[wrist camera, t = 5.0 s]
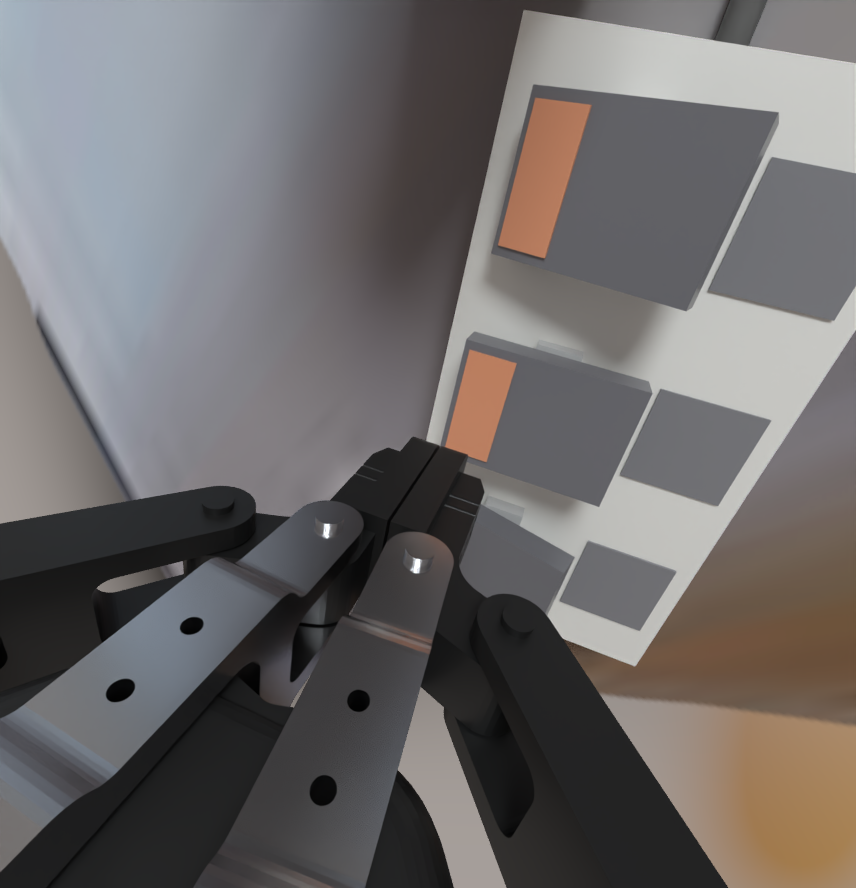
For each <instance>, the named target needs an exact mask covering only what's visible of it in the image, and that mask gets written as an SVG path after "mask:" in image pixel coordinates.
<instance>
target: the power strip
mask: <svg viewBox="0 0 856 888" xmlns="http://www.w3.org/2000/svg"><path fill="white" fill-rule="evenodd" d="M766 2H767V0H730V2H729V5H728V8H727V10H726V13H725V15H724V18H723V20H722V23H721V26H720V28H719V31H718V33H717V36H716V39H715V41H714V40H708V39H702V38H696V37H689V36H683V35H677V34H671V33H665V32H658V31H652V30H646V29H640V28H634V27H628V26H621V25H615V24H609V23H603V22H597V21H590V20H584V19H578V18H572V17H566V16H560V15H553V14H547V13H541V12H535V11H529V10H524V11H523V15H522V20H521V24H520V29H519V33H518V37H517V42H516V46H515V51H514V55H513V60H512V64H511V68H510V73H509V77H508V82H507V86H506V90H505V95H504V99H503V104H502V108H501V112H500V117H499V121H498V126H497V130H496V135H495V139H494V143H493V148H492V152H491V157H490V161H489V165H488V170H487V174H486V179H485V183H484V188H483V192H482V196H481V201H480V205H479V210H478V214H477V218H476V223H475V227H474V232H473V236H472V240H471V245H470V249H469V254H468V258H467V263H466V267H465V271H464V276H463V280H462V285H461V289H460V293H459V298H458V302H457V307H456V311H455V315H454V320H453V324H452V329H451V333H450V338H449V342H448V346H447V351H446V355H445V360H444V364H443V368H442V373H441V377H440V382H439V386H438V390H437V395H436V399H435V404H434V408H433V413H432V417H431V421H430V426H429V430H428V435H427V439H426V441H428V442H431V443H434V444H437V445H441V441H442V437H443V432H444V428H445V424H446V420H447V416H448V412H449V408H450V404H451V400H452V396H453V392H454V388H455V383H456V379H457V375H458V371H459V367H460V363H461V359H462V355H463V351H464V347H465V343H466V339H467V338H468V337H469V336H470V335H471V334H472V333H473V332H474V331H475V332H478V333H482V334H485V335H489V336H492V337H496V338H499V339H503V340H506V341H510V342H513V343H517V344H520V345H524V346H527V347H531V348H534V349H538V350H541V351H545V352H548V353H552V354H555V355H559V356H562V357H565V358H569V359H572V360H576V361H579V362H583V363H586V364H590V365H593V366H597V367H600V368H604V369H607V370H611V371H614V372H618V373H621V374H625V375H628V376H632V377H635V378H639V379H642V380H646V381H649V383H650V387H651V390H652V393H653V394H652V396H651V398H650V400H649V402H648V404H647V407H646V409H645V411H644V413H643V415H642V417H641V419H640V421H639V423H638V426H637V428H636V430H635V432H634V434H633V436H632V438H631V440H630V443H629V445H628V447H627V449H626V451H625V453H624V455H623V457H622V460H621V462H620V464H619V466H618V468H617V470H616V472H615V474H614V476H613V479H612V481H611V483H610V485H609V487H608V489H607V491H606V493H605V496H604V498H603V500H602V502H601V504H600V506H599V507H597V506H594V505H592V504H589V503H586V502H583V501H580V500H577V499H574V498H571V497H568V496H565V495H562V494H559V493H556V492H553V491H550V490H547V489H544V488H541V487H539V486H536V485H533V484H530V483H527V482H524V481H521V480H518V479H515V478H512V477H509V476H506V475H503V474H500V473H497V472H494V471H491V470H489V469H486V468H483V467H480V466H477V465H474V464H471V463H468V462H467V463H466V466H465V470H464V473H465V474H468V475H470V476H473V477H476V478H479V479H481V481H482V485H483V488H484V492H485V493H484V496H483V499H482V502H481V504H482V505H483V506H485V507H487V508H489V509H490V510H492V511H494V512H496V513H498V514H499V515H501V516H503V517H505V518H506V519H508V520H510V521H512V522H513V523H515V524H517V525H519V526H521V527H522V528H524V529H526V530H528V531H529V532H531V533H533V534H535V535H537V536H538V537H540V538H542V539H544V540H545V541H547V542H549V543H551V544H552V545H554V546H556V547H558V548H560V549H561V550H563V551H565V552H567V553H568V554H570V555H572V556H574V557H575V558H574V560H573V562H572V564H571V566H570V568H569V571H568V573H567V575H566V577H565V579H564V581H563V583H562V585H561V588H560V590H559V592H558V594H557V596H556V598H555V600H554V602H553V605H552V607H551V609H550V611H549V613H548V615H547V616H548V618H549V619H550V620H551V622H552V624H553V625H554V627H555V628H556V630H557V631H558V633H559V634H560V636H561V637H562V639H565V640H568V641H570V642H573V643H575V644H578V645H581V646H583V647H586V648H588V649H591V650H594V651H596V652H599V653H601V654H604V655H607V656H609V657H612V658H614V659H617V660H620V661H622V662H625V663H627V664H630V665H633V666H636V665H637V663H638V661H639V660H640V658H641V657H642V655H643V654H644V652H645V651H646V649H647V648H648V646H649V645H650V643H651V642H652V640H653V639H654V637H655V636H656V634H657V632H658V631H659V629H660V628H661V626H662V625H663V623H664V622H665V620H666V619H667V617H668V616H669V614H670V613H671V611H672V610H673V608H674V607H675V605H676V603H677V602H678V600H679V599H680V597H681V596H682V594H683V593H684V591H685V590H686V588H687V587H688V585H689V584H690V582H691V581H692V579H693V578H694V576H695V574H696V573H697V571H698V570H699V568H700V567H701V565H702V564H703V562H704V561H705V559H706V558H707V556H708V555H709V553H710V552H711V550H712V549H713V547H714V545H715V544H716V542H717V541H718V539H719V538H720V536H721V535H722V533H723V532H724V530H725V529H726V527H727V526H728V524H729V523H730V521H731V520H732V518H733V516H734V515H735V513H736V512H737V510H738V509H739V507H740V506H741V504H742V503H743V501H744V500H745V498H746V497H747V495H748V494H749V492H750V491H751V489H752V487H753V486H754V484H755V483H756V481H757V480H758V478H759V477H760V475H761V474H762V472H763V471H764V469H765V468H766V466H767V465H768V463H769V462H770V460H771V458H772V457H773V455H774V454H775V452H776V451H777V449H778V448H779V446H780V445H781V443H782V442H783V440H784V439H785V437H786V436H787V434H788V433H789V431H790V429H791V428H792V426H793V425H794V423H795V422H796V420H797V419H798V417H799V416H800V414H801V413H802V411H803V410H804V408H805V407H806V405H807V404H808V402H809V400H810V399H811V397H812V396H813V394H814V393H815V391H816V390H817V388H818V387H819V385H820V384H821V382H822V381H823V379H824V378H825V376H826V375H827V373H828V371H829V370H830V368H831V367H832V365H833V364H834V362H835V361H836V359H837V358H838V356H839V355H840V353H841V352H842V350H843V349H844V347H845V346H846V344H847V342H848V341H849V339H850V338H851V336H852V335H853V333H854V332H855V330H856V63H850V62H844V61H838V60H832V59H825V58H819V57H813V56H807V55H801V54H794V53H788V52H782V51H776V50H770V49H764V48H757V47H751V46H749V43H750V41H751V38H752V36H753V33H754V31H755V29H756V26H757V24H758V21H759V19H760V17H761V14H762V12H763V9H764V7H765V5H766ZM533 84H535V85H544V86H553V87H561V88H570V89H579V90H588V91H596V92H605V93H614V94H623V95H631V96H640V97H649V98H658V99H666V100H675V101H684V102H693V103H702V104H710V105H719V106H728V107H737V108H745V109H754V110H763V111H772V112H779V125H778V127H777V129H776V131H775V133H774V135H773V137H772V140H771V142H770V144H769V146H768V148H767V150H766V152H765V154H764V157H763V159H762V161H761V163H760V165H759V167H758V169H757V171H756V173H755V176H754V178H753V180H752V182H751V184H750V186H749V188H748V190H747V193H746V195H745V197H744V199H743V201H742V203H741V205H740V207H739V210H738V212H737V214H736V216H735V218H734V220H733V222H732V224H731V227H730V229H729V231H728V233H727V235H726V237H725V239H724V241H723V244H722V246H721V248H720V250H719V252H718V254H717V256H716V258H715V261H714V263H713V265H712V267H711V269H710V271H709V273H708V275H707V278H706V280H705V282H704V284H703V286H702V288H701V290H700V292H699V295H698V297H697V299H696V301H695V303H694V305H693V307H692V308H691V309H689V310H688V311H683V310H680V309H676V308H673V307H670V306H666V305H663V304H659V303H656V302H653V301H649V300H646V299H643V298H639V297H636V296H632V295H629V294H626V293H622V292H619V291H616V290H612V289H609V288H605V287H602V286H599V285H595V284H592V283H589V282H585V281H582V280H578V279H575V278H572V277H568V276H565V275H562V274H558V273H555V272H551V271H548V270H545V269H541V268H538V267H535V266H531V265H528V264H524V263H521V262H518V261H514V260H511V259H508V258H504V257H501V256H498V255H494V254H491V252H492V248H493V244H494V240H495V236H496V232H497V228H498V224H499V220H500V216H501V212H502V208H503V204H504V200H505V196H506V192H507V188H508V184H509V180H510V176H511V172H512V168H513V164H514V160H515V156H516V152H517V148H518V143H519V139H520V135H521V131H522V127H523V123H524V119H525V115H526V111H527V107H528V103H529V99H530V95H531V91H532V87H533Z"/></svg>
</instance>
